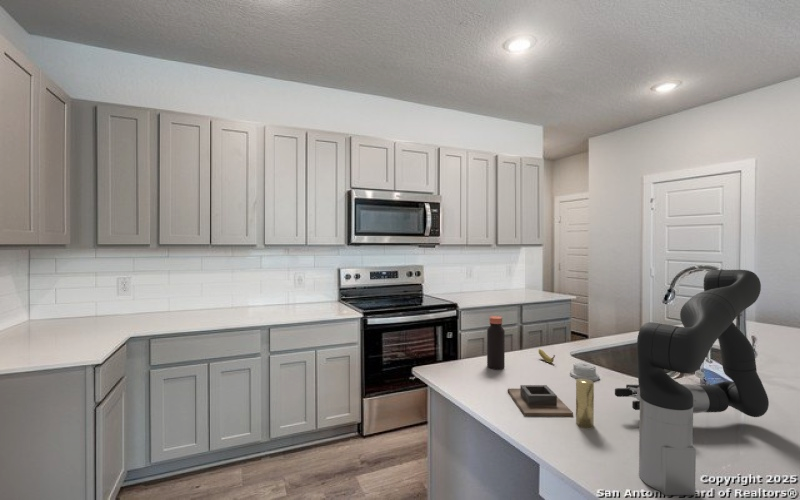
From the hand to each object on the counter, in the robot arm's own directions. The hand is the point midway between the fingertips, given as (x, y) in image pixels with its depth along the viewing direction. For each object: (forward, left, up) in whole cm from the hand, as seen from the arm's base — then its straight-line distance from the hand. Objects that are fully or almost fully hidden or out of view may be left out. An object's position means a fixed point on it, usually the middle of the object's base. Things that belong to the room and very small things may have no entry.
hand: (623, 398), depth 106 cm
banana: (+55, +1, -8) cm, 56 cm away
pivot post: (0, +11, -7) cm, 13 cm away
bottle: (+48, +24, -7) cm, 54 cm away
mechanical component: (+37, -7, -8) cm, 39 cm away
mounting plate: (+14, +19, -7) cm, 24 cm away
